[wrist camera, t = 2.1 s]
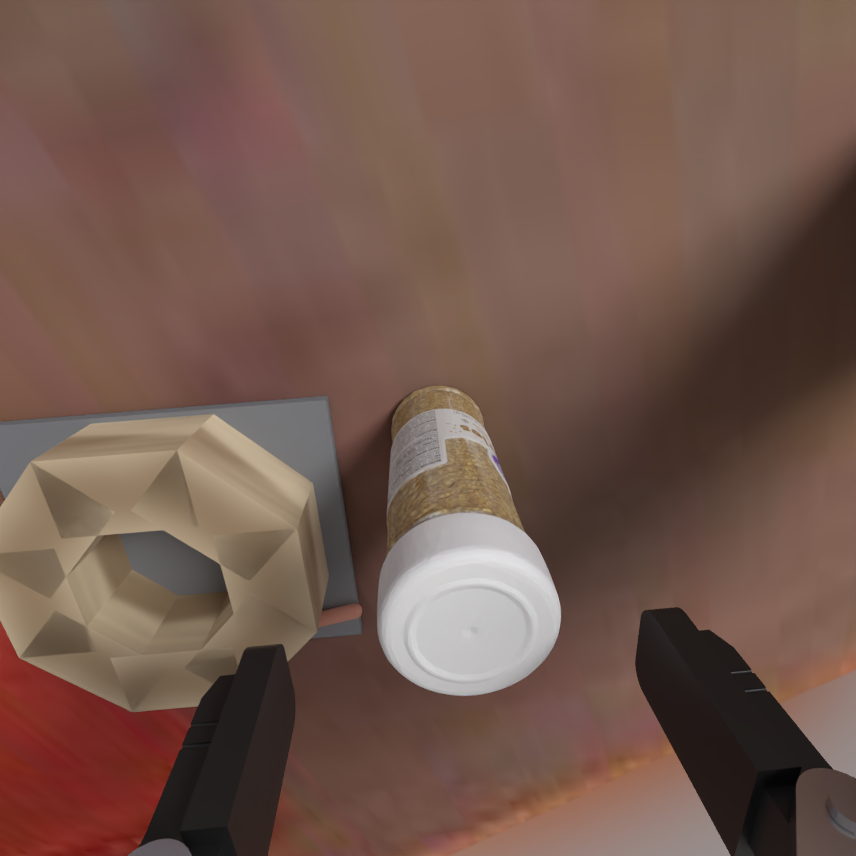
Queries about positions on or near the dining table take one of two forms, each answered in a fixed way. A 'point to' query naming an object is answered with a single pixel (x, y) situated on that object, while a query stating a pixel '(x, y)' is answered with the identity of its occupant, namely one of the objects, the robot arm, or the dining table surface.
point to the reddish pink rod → (340, 614)
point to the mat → (263, 424)
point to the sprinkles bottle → (458, 557)
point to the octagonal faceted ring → (134, 593)
